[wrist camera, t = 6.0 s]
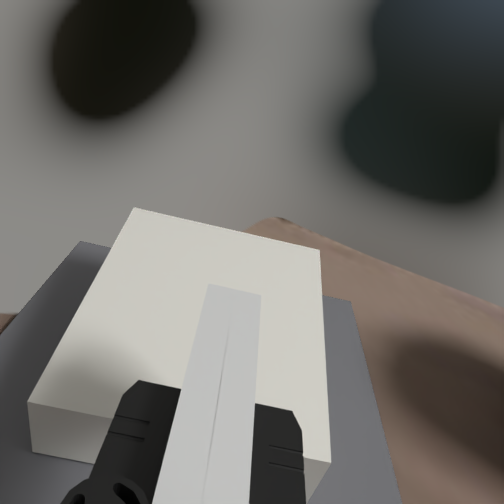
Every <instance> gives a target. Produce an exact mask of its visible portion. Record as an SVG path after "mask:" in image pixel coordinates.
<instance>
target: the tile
mask: <svg viewBox="0 0 504 504" xmlns="http://www.w3.org/2000/svg"><path fill="white" fill-rule="evenodd" d="M208 284H214V285H218V286H223V287H227V288H232V289H236V290H241V291H245V292H249V293H254V294H258V295H261V310H260V327H259V343H258V360H257V377H256V393H255V403H257V404H262V405H267V406H272V407H276V408H281V409H286V410H291V411H293V413H294V415H295V417H296V419H297V421H298V423H299V425H300V427H301V430H302V438H303V456H304V474H305V491H306V504H307V502H308V501H309V499H310V497H311V496H312V494H313V492H314V491H315V489H316V487H317V486H318V484H319V482H320V481H321V479H322V478H323V476H324V474H325V473H326V471H327V469H328V468H329V466H330V464H331V447H330V429H329V411H328V393H327V375H326V357H325V339H324V321H323V303H322V286H321V268H320V250H317V249H312V248H308V247H304V246H299V245H295V244H291V243H286V242H282V241H278V240H273V239H269V238H265V237H260V236H256V235H252V234H247V233H243V232H239V231H234V230H230V229H225V228H221V227H217V226H212V225H208V224H204V223H199V222H195V221H191V220H186V219H182V218H178V217H173V216H169V215H165V214H160V213H156V212H151V211H147V210H143V209H138V208H133V210H132V212H131V214H130V216H129V217H128V219H127V221H126V223H125V225H124V226H123V228H122V230H121V232H120V234H119V236H118V237H117V239H116V241H115V243H114V245H113V246H112V248H111V250H110V252H109V254H108V256H107V257H106V259H105V261H104V263H103V265H102V266H101V268H100V270H99V272H98V274H97V276H96V277H95V279H94V281H93V283H92V285H91V286H90V288H89V290H88V292H87V294H86V296H85V297H84V299H83V301H82V303H81V305H80V306H79V308H78V310H77V312H76V314H75V315H74V317H73V319H72V321H71V323H70V325H69V326H68V328H67V330H66V332H65V334H64V335H63V337H62V339H61V341H60V343H59V345H58V346H57V348H56V350H55V352H54V354H53V355H52V357H51V359H50V361H49V363H48V365H47V366H46V368H45V370H44V372H43V374H42V375H41V377H40V379H39V381H38V383H37V385H36V386H35V388H34V390H33V392H32V394H31V395H30V397H29V399H28V401H27V405H28V415H29V424H30V433H31V443H32V452H35V453H41V454H46V455H51V456H56V457H61V458H66V459H71V460H76V461H82V462H87V463H92V464H95V461H96V459H97V456H98V454H99V451H100V449H101V446H102V444H103V442H104V439H105V437H106V435H107V432H108V429H109V427H110V424H111V422H112V419H113V418H114V415H115V412H116V410H117V407H118V405H119V402H120V400H121V397H122V395H123V394H124V393H125V392H126V391H127V390H128V389H129V388H130V387H131V386H132V385H134V384H135V383H136V382H137V381H138V380H141V381H146V382H151V383H156V384H160V385H165V386H170V387H175V388H179V389H182V385H183V381H184V377H185V373H186V369H187V365H188V361H189V358H190V354H191V350H192V346H193V342H194V338H195V334H196V330H197V326H198V323H199V319H200V315H201V311H202V307H203V303H204V299H205V295H206V291H207V287H208Z"/></svg>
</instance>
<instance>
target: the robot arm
mask: <svg viewBox="0 0 504 504" xmlns="http://www.w3.org/2000/svg"><path fill="white" fill-rule="evenodd" d="M260 310H261V295H258V294H254V293H249V292H245V291H241V290H236V289H232V288H227V287H223V286H218V285H214V284H208V287H207V291H206V295H205V299H204V303H203V307H202V311H201V315H200V319H199V323H198V326H197V330H196V334H195V338H194V342H193V346H192V350H191V354H190V358H189V361H188V365H187V369H186V373H185V377H184V381H183V385H182V389H179V388H175V387H170V386H165V385H160V384H156V383H151V382H146V381H141V380H138V381H137V382H136V383H135V384H134V385H132V386H131V387H130V388H129V389H128V390H127V391H126V392H125V393H124V394H123V395H122V397H121V400H120V402H119V405H118V407H117V410H116V412H115V415H114V418H113V419H112V422H111V424H110V427H109V429H108V432H107V435H106V437H105V439H104V442H103V444H102V446H101V449H100V451H99V454H98V456H97V459H96V461H95V464H94V466H93V469H92V471H91V474H90V476H89V478H88V479H85V480H83V481H82V482H80V483H79V484H78V485H76V486H75V487H73V488H72V489H71V490H69V492H68V493H67V495H66V496H65V497H64V499H63V500H62V502H61V503H60V504H306V491H305V474H304V456H303V438H302V430H301V427H300V425H299V423H298V421H297V419H296V417H295V415H294V413H293V411H291V410H286V409H281V408H276V407H272V406H267V405H262V404H257V403H255V393H256V377H257V360H258V343H259V327H260Z"/></svg>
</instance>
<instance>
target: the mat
mask: <svg viewBox="0 0 504 504" xmlns="http://www.w3.org/2000/svg"><path fill="white" fill-rule="evenodd" d="M110 250H111V248H109V247H105V246H100V245H96V244H91V243H87V242H82V241H80V242H79V243H78V244H77V246H76V247H75V248H74V249H73V250H72V251H71V252H70V254H69V255H68V256H67V257H66V258H65V260H64V261H63V262H62V263H61V264H60V265H59V267H58V268H57V269H56V270H55V271H54V272H53V274H52V275H51V276H50V277H49V278H48V280H47V281H46V282H45V283H44V284H43V285H42V287H41V288H40V289H39V290H38V291H37V292H36V294H35V295H34V296H33V297H32V298H31V300H30V301H29V302H28V303H27V304H26V305H25V307H24V308H23V309H22V310H21V311H20V312H19V314H18V315H17V316H16V317H15V318H14V320H13V321H12V322H11V323H10V324H9V325H8V327H7V328H6V329H5V330H4V331H3V332H2V334H1V335H0V504H60V503H61V502H62V500H63V499H64V497H65V496H66V495H67V493H68V492H69V490H71V489H72V488H73V487H75V486H76V485H78V484H79V483H80V482H82V481H83V480H85V479H88V478H89V476H90V474H91V471H92V469H93V466H94V464H92V463H87V462H82V461H76V460H71V459H66V458H61V457H56V456H51V455H46V454H41V453H35V452H32V443H31V433H30V424H29V415H28V405H27V401H28V399H29V397H30V395H31V394H32V392H33V390H34V388H35V386H36V385H37V383H38V381H39V379H40V377H41V375H42V374H43V372H44V370H45V368H46V366H47V365H48V363H49V361H50V359H51V357H52V355H53V354H54V352H55V350H56V348H57V346H58V345H59V343H60V341H61V339H62V337H63V335H64V334H65V332H66V330H67V328H68V326H69V325H70V323H71V321H72V319H73V317H74V315H75V314H76V312H77V310H78V308H79V306H80V305H81V303H82V301H83V299H84V297H85V296H86V294H87V292H88V290H89V288H90V286H91V285H92V283H93V281H94V279H95V277H96V276H97V274H98V272H99V270H100V268H101V266H102V265H103V263H104V261H105V259H106V257H107V256H108V254H109V252H110ZM322 303H323V321H324V339H325V357H326V375H327V393H328V411H329V429H330V447H331V464H330V466H329V468H328V469H327V471H326V473H325V474H324V476H323V478H322V479H321V481H320V482H319V484H318V486H317V487H316V489H315V491H314V492H313V494H312V496H311V497H310V499H309V501H308V502H307V504H402V501H401V497H400V493H399V489H398V485H397V481H396V477H395V473H394V469H393V465H392V462H391V458H390V454H389V450H388V446H387V442H386V438H385V434H384V430H383V426H382V422H381V418H380V415H379V411H378V407H377V403H376V399H375V395H374V391H373V387H372V383H371V379H370V375H369V371H368V368H367V364H366V360H365V356H364V352H363V348H362V344H361V340H360V336H359V332H358V328H357V324H356V321H355V317H354V313H353V309H352V305H351V301H346V300H342V299H337V298H333V297H328V296H324V295H322Z"/></svg>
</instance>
